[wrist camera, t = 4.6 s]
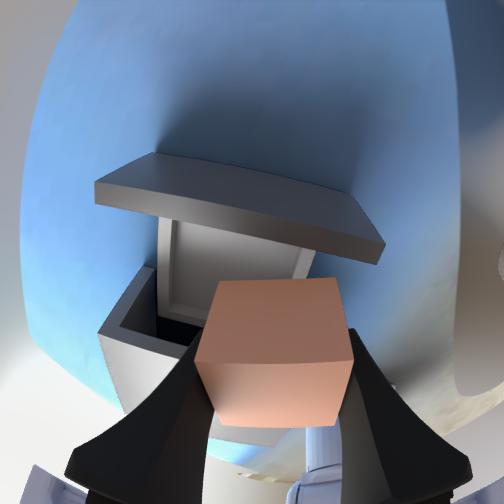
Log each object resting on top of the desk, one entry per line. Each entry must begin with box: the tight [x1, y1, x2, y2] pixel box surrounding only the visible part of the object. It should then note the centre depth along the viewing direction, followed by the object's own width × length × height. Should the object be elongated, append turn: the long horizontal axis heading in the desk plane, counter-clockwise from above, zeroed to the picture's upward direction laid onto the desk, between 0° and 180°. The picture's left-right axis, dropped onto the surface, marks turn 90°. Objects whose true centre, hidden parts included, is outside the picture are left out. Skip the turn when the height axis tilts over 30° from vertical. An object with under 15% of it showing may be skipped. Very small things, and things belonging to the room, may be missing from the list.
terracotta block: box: [194, 277, 354, 428], centre depth 10 cm, size 4×4×4 cm
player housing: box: [97, 266, 291, 448], centre depth 19 cm, size 13×11×7 cm
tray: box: [94, 152, 386, 327], centre depth 15 cm, size 12×11×6 cm
